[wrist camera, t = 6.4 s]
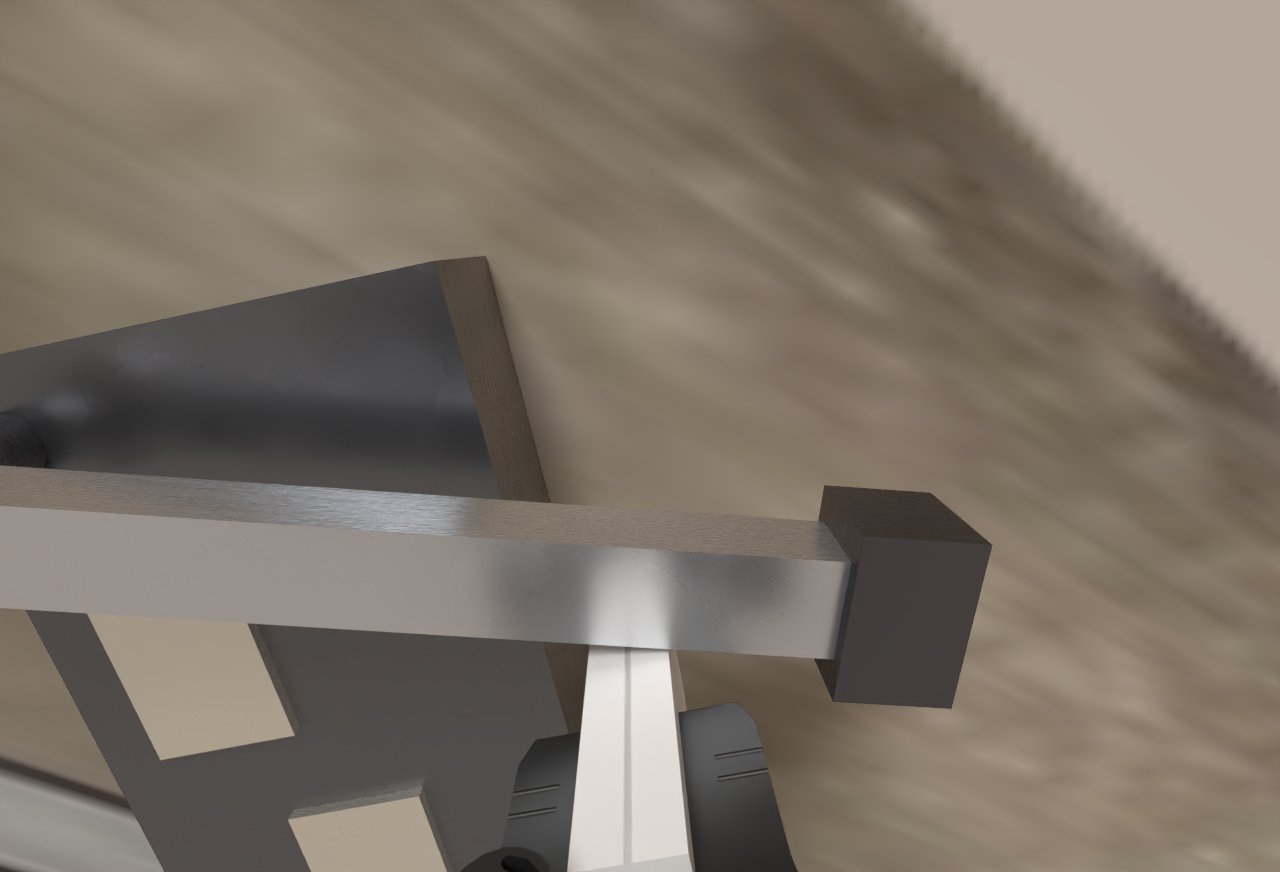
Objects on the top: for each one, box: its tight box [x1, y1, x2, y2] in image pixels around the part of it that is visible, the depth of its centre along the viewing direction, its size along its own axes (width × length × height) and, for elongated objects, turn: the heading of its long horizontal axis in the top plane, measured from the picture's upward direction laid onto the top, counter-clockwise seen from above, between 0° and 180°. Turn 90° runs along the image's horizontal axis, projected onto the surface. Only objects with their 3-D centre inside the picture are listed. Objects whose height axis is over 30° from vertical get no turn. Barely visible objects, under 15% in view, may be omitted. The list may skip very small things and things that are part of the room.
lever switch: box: [0, 256, 589, 872], centre depth 18 cm, size 22×12×8 cm, turn 12°
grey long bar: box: [0, 465, 992, 709], centre depth 11 cm, size 21×3×2 cm, turn 86°
